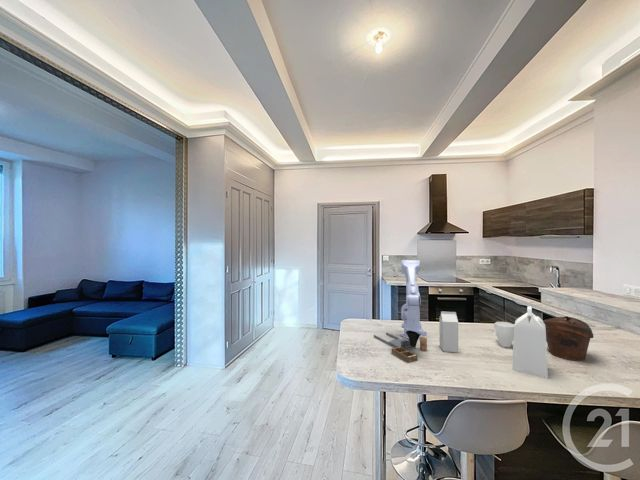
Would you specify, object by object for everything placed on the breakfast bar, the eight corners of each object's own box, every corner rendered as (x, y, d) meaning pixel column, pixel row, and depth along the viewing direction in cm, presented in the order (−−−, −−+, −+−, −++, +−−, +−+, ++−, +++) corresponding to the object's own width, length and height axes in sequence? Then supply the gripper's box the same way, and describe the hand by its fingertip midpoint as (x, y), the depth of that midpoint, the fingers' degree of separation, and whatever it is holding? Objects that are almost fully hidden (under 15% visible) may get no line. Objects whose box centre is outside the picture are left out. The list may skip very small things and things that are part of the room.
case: (575, 348, 136) (574, 312, 136) (605, 366, 116) (604, 325, 116) (534, 345, 140) (533, 311, 140) (556, 362, 121) (555, 322, 121)
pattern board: (387, 334, 157) (387, 332, 157) (415, 348, 136) (415, 345, 136) (373, 337, 152) (373, 335, 152) (401, 351, 132) (401, 349, 132)
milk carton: (458, 352, 131) (458, 314, 131) (442, 351, 132) (442, 313, 132) (454, 347, 138) (454, 310, 138) (439, 346, 139) (439, 309, 139)
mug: (519, 348, 135) (518, 326, 135) (503, 349, 135) (503, 326, 135) (501, 340, 147) (501, 319, 147) (487, 340, 147) (487, 319, 147)
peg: (423, 348, 136) (423, 336, 136) (428, 350, 133) (428, 338, 133) (418, 349, 135) (418, 337, 135) (423, 351, 132) (423, 339, 132)
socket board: (400, 351, 133) (400, 346, 133) (417, 360, 123) (417, 355, 123) (391, 353, 130) (391, 348, 130) (407, 363, 120) (407, 357, 120)
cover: (402, 339, 145) (402, 333, 145) (415, 345, 136) (415, 339, 136) (388, 342, 141) (388, 336, 141) (401, 348, 132) (401, 342, 132)
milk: (514, 359, 123) (514, 303, 123) (547, 367, 116) (546, 307, 116) (512, 369, 114) (511, 308, 114) (547, 378, 107) (547, 313, 107)
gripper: (396, 315, 136) (396, 342, 136) (418, 323, 123) (418, 353, 123) (407, 314, 139) (407, 340, 139) (429, 321, 126) (429, 350, 126)
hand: (413, 346), depth 132 cm, fingers closed
